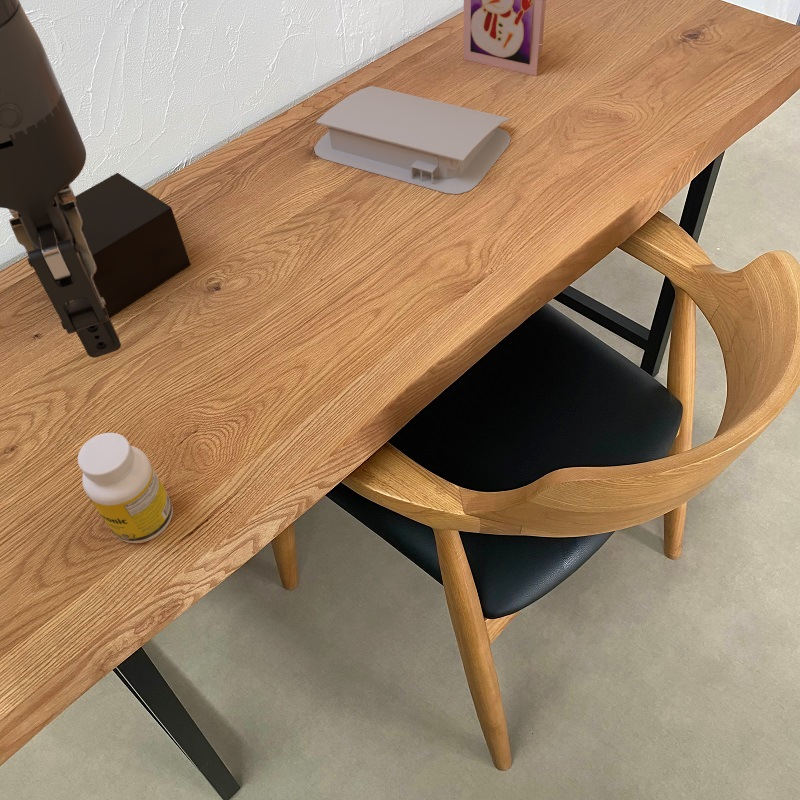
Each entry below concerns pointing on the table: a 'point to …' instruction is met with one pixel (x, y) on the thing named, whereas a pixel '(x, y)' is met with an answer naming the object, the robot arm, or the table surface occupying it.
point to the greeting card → (504, 33)
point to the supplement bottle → (124, 488)
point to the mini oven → (129, 240)
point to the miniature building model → (413, 139)
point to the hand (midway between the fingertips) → (94, 311)
